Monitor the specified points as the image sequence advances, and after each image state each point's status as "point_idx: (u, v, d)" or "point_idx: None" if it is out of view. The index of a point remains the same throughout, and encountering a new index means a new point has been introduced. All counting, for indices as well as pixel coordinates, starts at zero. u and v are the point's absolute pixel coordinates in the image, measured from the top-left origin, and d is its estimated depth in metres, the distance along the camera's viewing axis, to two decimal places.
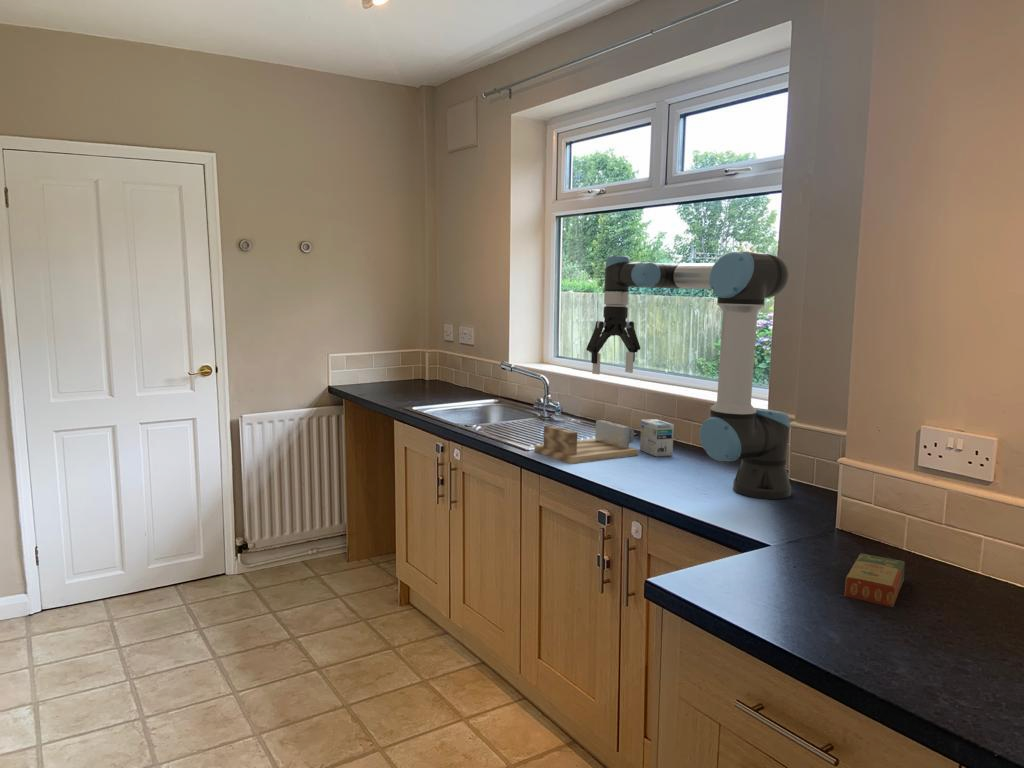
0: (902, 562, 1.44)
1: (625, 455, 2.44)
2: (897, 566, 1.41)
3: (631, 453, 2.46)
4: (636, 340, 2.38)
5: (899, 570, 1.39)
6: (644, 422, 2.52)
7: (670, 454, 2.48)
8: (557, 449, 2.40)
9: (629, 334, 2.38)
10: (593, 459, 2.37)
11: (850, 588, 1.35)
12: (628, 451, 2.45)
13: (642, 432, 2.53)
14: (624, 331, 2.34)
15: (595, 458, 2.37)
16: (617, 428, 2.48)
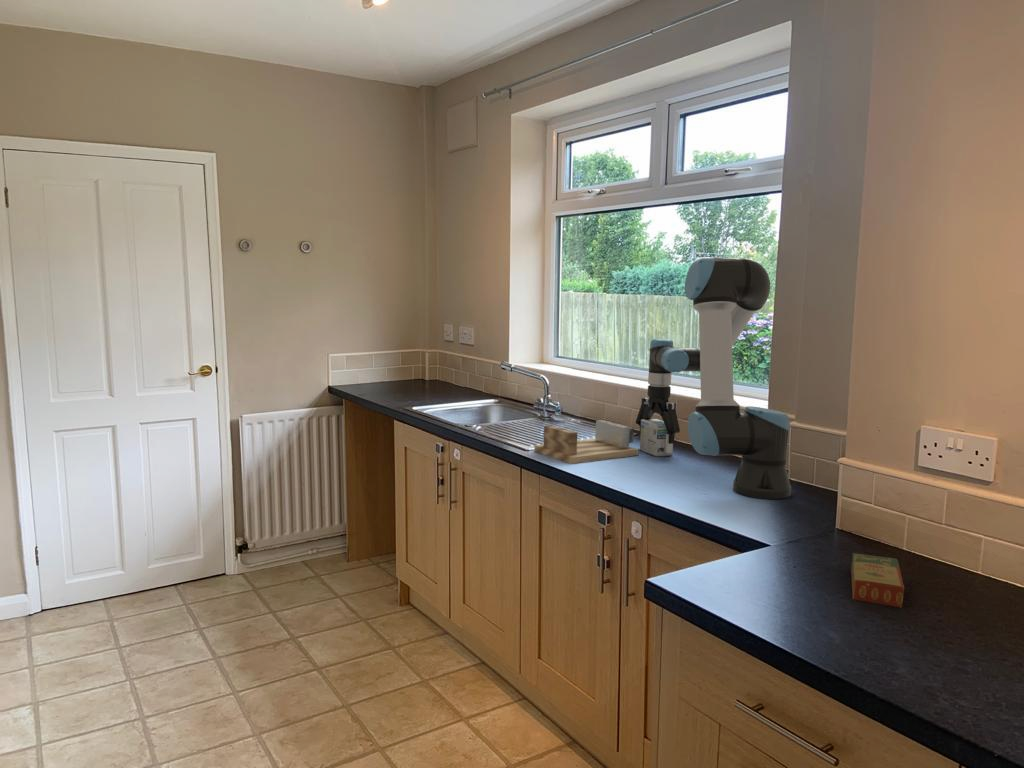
0: (895, 560, 1.45)
1: (625, 455, 2.44)
2: (894, 565, 1.42)
3: (631, 453, 2.46)
4: (671, 422, 2.43)
5: (898, 569, 1.40)
6: (644, 422, 2.52)
7: (670, 454, 2.48)
8: (557, 449, 2.40)
9: None
10: (593, 459, 2.37)
11: (858, 590, 1.34)
12: (628, 451, 2.45)
13: (642, 432, 2.53)
14: (659, 410, 2.47)
15: (595, 458, 2.37)
16: (617, 428, 2.48)
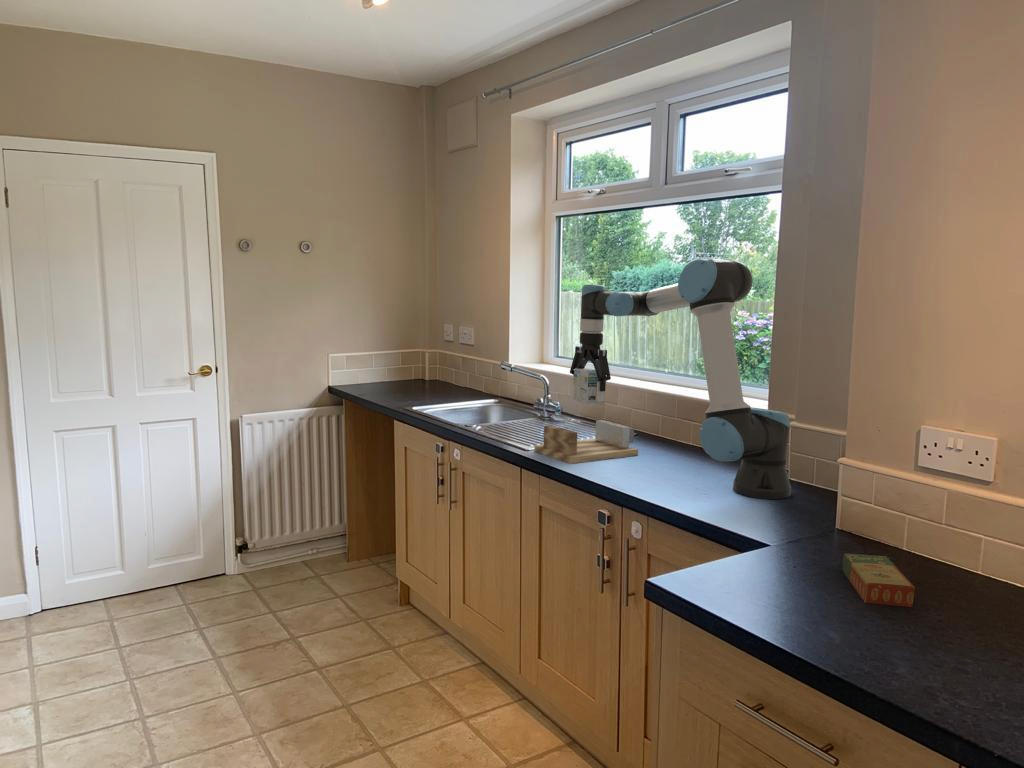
0: (886, 557, 1.46)
1: (625, 455, 2.44)
2: (888, 563, 1.43)
3: (631, 453, 2.46)
4: (602, 369, 2.37)
5: (895, 567, 1.41)
6: (577, 370, 2.46)
7: (602, 402, 2.42)
8: (557, 449, 2.40)
9: None
10: (593, 459, 2.37)
11: (870, 593, 1.33)
12: (628, 451, 2.45)
13: (575, 381, 2.47)
14: (590, 357, 2.41)
15: (595, 458, 2.37)
16: (617, 428, 2.48)
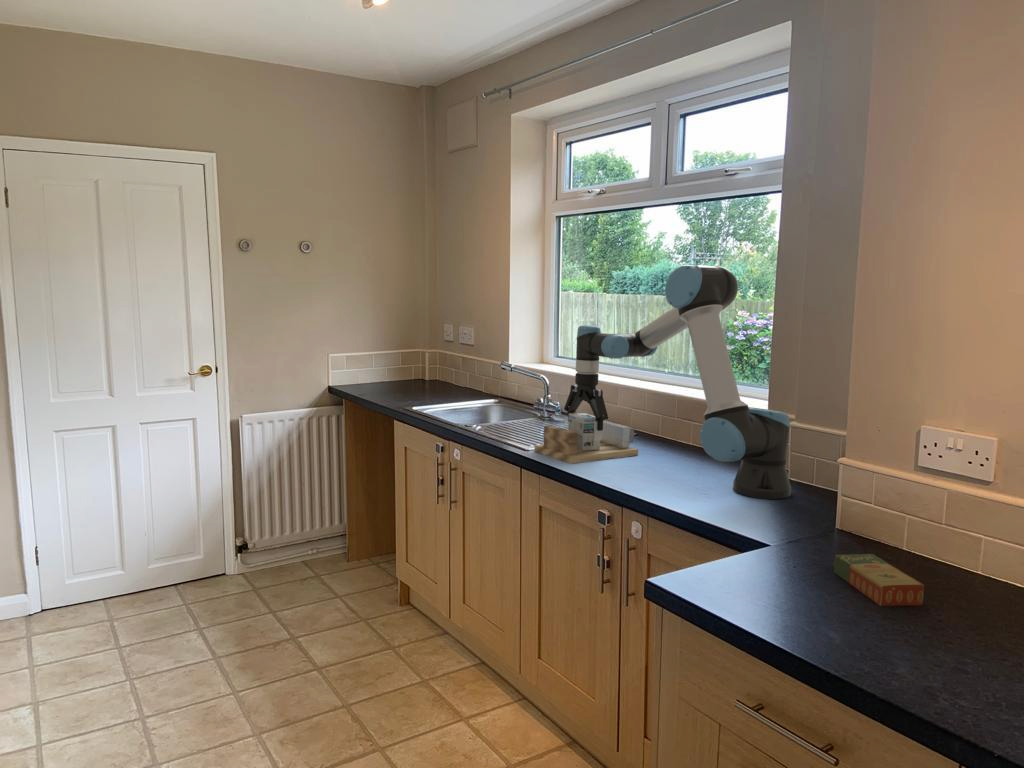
0: (874, 555, 1.47)
1: (625, 455, 2.44)
2: (881, 561, 1.44)
3: (631, 453, 2.46)
4: (598, 409, 2.38)
5: (890, 565, 1.42)
6: (571, 416, 2.47)
7: (597, 448, 2.43)
8: (557, 449, 2.40)
9: None
10: (593, 459, 2.37)
11: (885, 596, 1.32)
12: (628, 451, 2.45)
13: (570, 426, 2.49)
14: (586, 398, 2.42)
15: (595, 458, 2.37)
16: (617, 428, 2.48)
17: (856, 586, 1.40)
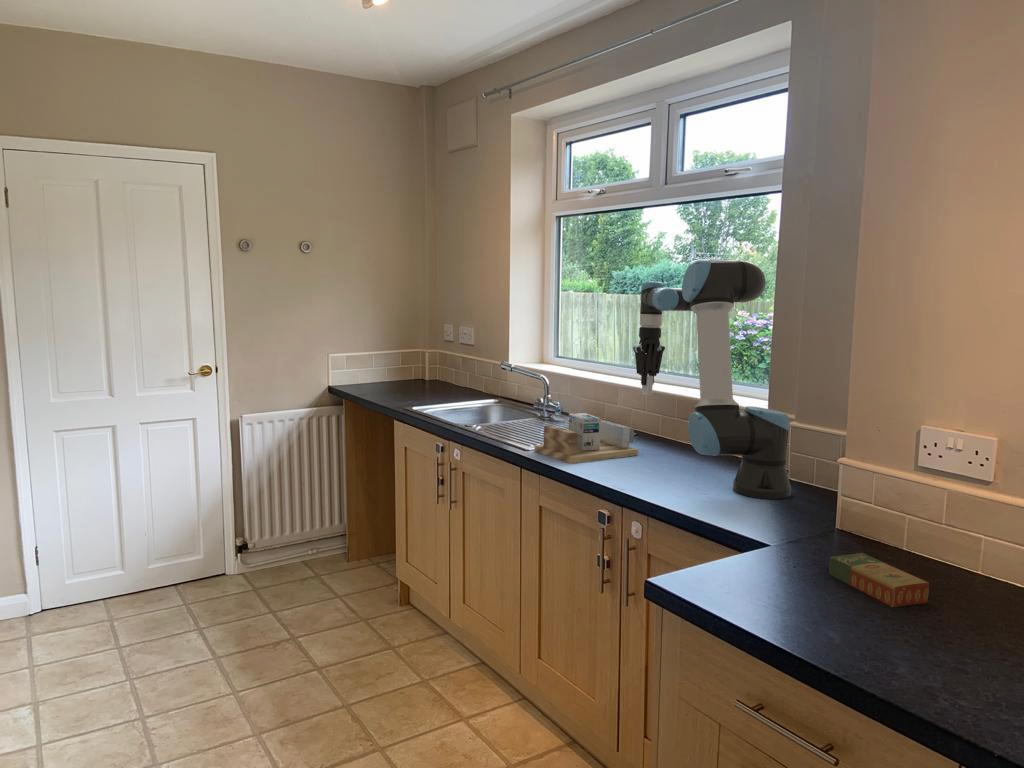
0: (865, 554, 1.48)
1: (625, 455, 2.44)
2: (875, 560, 1.44)
3: (631, 453, 2.46)
4: (659, 364, 2.59)
5: (885, 563, 1.43)
6: (571, 416, 2.47)
7: (597, 448, 2.43)
8: (557, 449, 2.40)
9: (656, 356, 2.60)
10: (593, 459, 2.37)
11: (897, 597, 1.32)
12: (628, 451, 2.45)
13: (570, 426, 2.49)
14: (655, 351, 2.57)
15: (595, 458, 2.37)
16: (617, 428, 2.48)
17: (860, 588, 1.39)
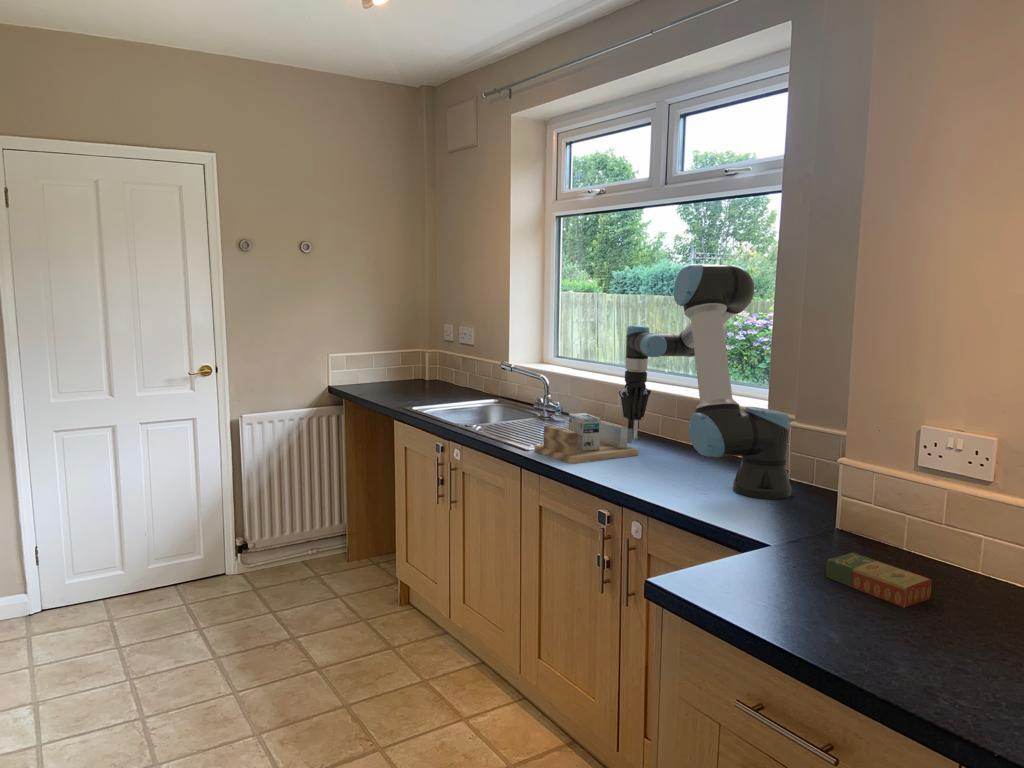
0: None
1: (625, 455, 2.44)
2: (869, 559, 1.45)
3: (631, 453, 2.46)
4: (644, 407, 2.58)
5: (880, 562, 1.43)
6: (571, 416, 2.47)
7: (597, 448, 2.43)
8: (557, 449, 2.40)
9: (641, 400, 2.59)
10: (593, 459, 2.37)
11: (908, 597, 1.32)
12: (628, 451, 2.45)
13: (570, 426, 2.49)
14: (641, 395, 2.56)
15: (595, 458, 2.37)
16: (615, 429, 2.48)
17: (864, 590, 1.38)
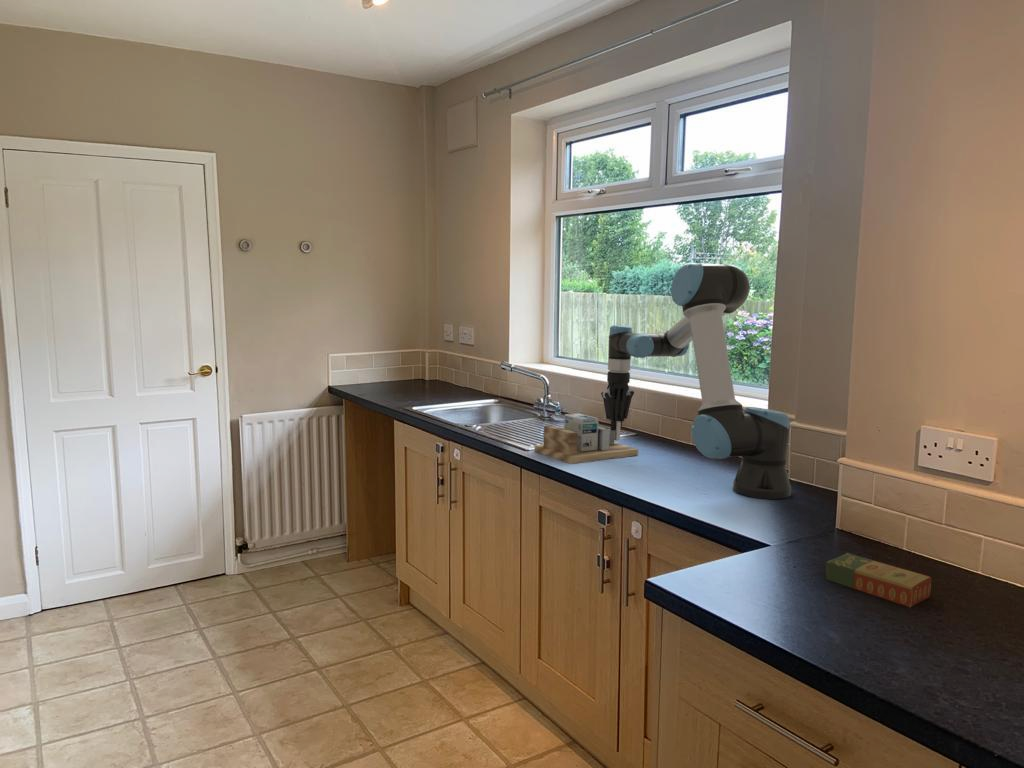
0: (851, 554, 1.48)
1: (625, 455, 2.44)
2: (866, 559, 1.45)
3: (631, 453, 2.46)
4: (627, 409, 2.54)
5: None
6: (568, 417, 2.46)
7: (595, 449, 2.43)
8: (557, 449, 2.40)
9: (624, 401, 2.55)
10: (593, 459, 2.37)
11: (913, 596, 1.32)
12: (628, 451, 2.45)
13: (566, 427, 2.47)
14: (623, 396, 2.52)
15: (595, 458, 2.37)
16: None
17: (867, 591, 1.38)
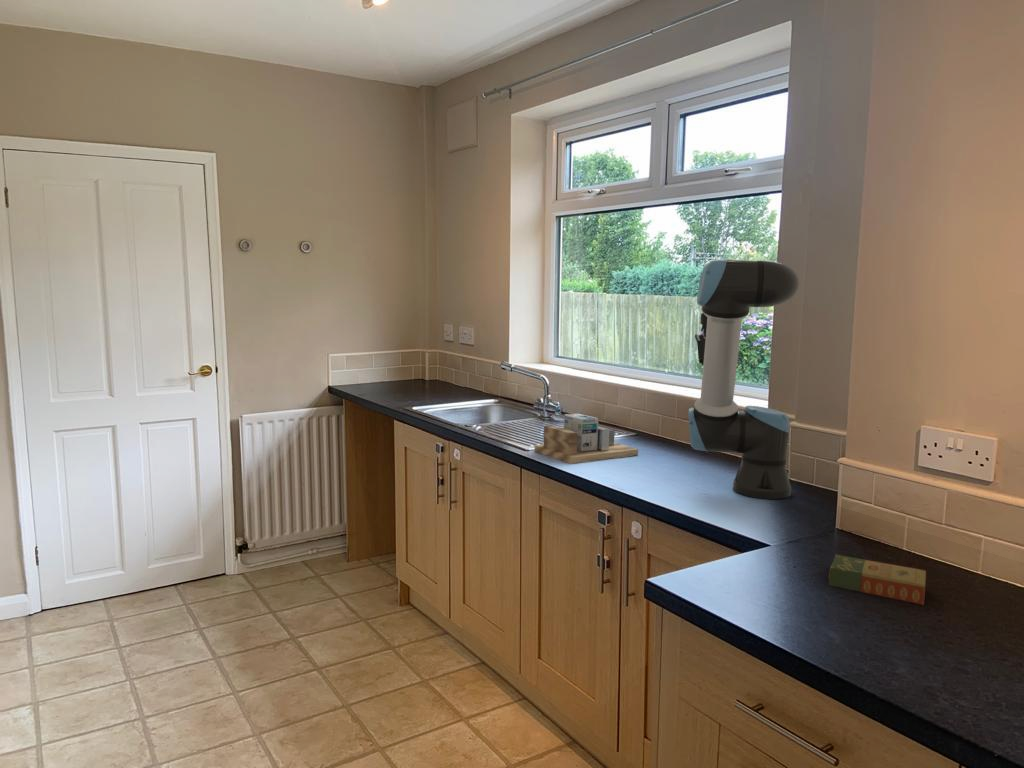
0: (840, 555, 1.47)
1: (625, 455, 2.44)
2: (858, 559, 1.44)
3: (631, 453, 2.46)
4: None
5: (869, 560, 1.44)
6: (568, 417, 2.45)
7: (595, 449, 2.43)
8: (557, 449, 2.40)
9: None
10: (593, 459, 2.37)
11: (924, 593, 1.34)
12: (628, 451, 2.45)
13: (566, 427, 2.47)
14: None
15: (595, 458, 2.37)
16: None
17: (876, 592, 1.37)
